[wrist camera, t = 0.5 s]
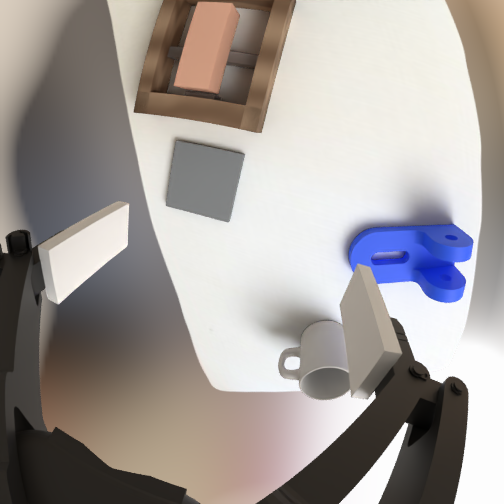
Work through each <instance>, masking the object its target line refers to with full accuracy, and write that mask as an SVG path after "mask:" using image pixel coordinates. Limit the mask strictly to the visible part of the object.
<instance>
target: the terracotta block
mask: <svg viewBox="0 0 504 504" xmlns="http://www.w3.org/2000/svg"><path fill="white" fill-rule="evenodd" d="M239 18H240V15H239V13H238V12H237V10H236V8H235V7H234V5H233V3H223V2H198V3H197V6H196V9H195V12H194V15H193V18H192V21H191V24H190V27H189V31H188V34H187V37H186V41H185V44H184V48H183V51H182V55H181V59H180V62H179V66H178V70H177V74H176V78H175V82H174V86H177V87H180V88H183V89H186V90H193V91H201V92H208V93H215V94H219V90H220V86H221V82H222V78H223V74H224V71H225V67H226V63H227V59H228V56H229V52H230V48H231V45H232V41H233V38H234V34H235V31H236V28H237V24H238V21H239Z"/></svg>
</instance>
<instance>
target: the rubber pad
mask: <svg viewBox="0 0 504 504" xmlns="http://www.w3.org/2000/svg"><path fill="white" fill-rule="evenodd" d="M244 156H245V154H242V153H237V152H233V151H229V150H224V149H220V148H215V147H210V146H205V145H200V144H195V143H190V142H185V141H176V144H175V149H174V155H173V161H172V167H171V173H170V180H169V186H168V193H167V201H166V206H168V207H172V208H176V209H180V210H184V211H187V212H191V213H195V214H199V215H202V216H206V217H210V218H214V219H217V220H221V221H225V222H229V221H230V218H231V213H232V209H233V204H234V200H235V195H236V191H237V187H238V182H239V178H240V173H241V169H242V165H243V161H244Z"/></svg>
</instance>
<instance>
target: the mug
mask: <svg viewBox="0 0 504 504" xmlns="http://www.w3.org/2000/svg"><path fill="white" fill-rule="evenodd" d="M291 356H295V357H299V358H300V368H299V369H296V370H287V369H285V367H284V362H285V360H286V359H287V358H288V357H291ZM278 368H279V373H280V375H281V376H282V377H283V378H285V379H291V380H299V387H300V390H301V391H302V393H304V394H305V395H306V396H307V397H309V398H312V399H316V400H332V399H336V398H338V397H341V396H343V395H345V394H346V393H347V392H349V391H350V379H349V370H348V361H347V353H346V345H345V337H344V330H343V326H342V325H341V324H339V323H337V322H334V321H319V322H316V323H313V324H312V325H310V326H308V327H307V328H306V329H305V330H304V332H303V334H302V337H301V346H300V347H295V348H288V349H285V350H284V351H283V352H282V353H281V355H280V358H279V363H278Z"/></svg>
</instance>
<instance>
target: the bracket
mask: <svg viewBox="0 0 504 504" xmlns="http://www.w3.org/2000/svg"><path fill="white" fill-rule="evenodd" d="M472 247H473V239H472V238H471V237H470V236H469V235H467V234H466V233H465V232H463V231H462V230H461V229H460V228H458V227H457V226H456V225H454V224H449V225H422V226H398V227H376V228H370V229H367V230H365V231H363V232H361V233H360V234H359V235H358V236H357V237H356V238H355V239H354V240H353V242H352V244H351V246H350V249H349V262H350V265H351V268H352V271H353V273H354V271H355V268H356V266H357V264H361V265H365V266H368V267H370V268H371V270H372V273H373V275H374V278H375V280H376V282H377V284H380V283H393V282H405V281H413V282H416V283H418V284H419V285H420V287H421V288H422V290H423V292H424V293H425V294H426V295H427V296H428V297H430V298H431V299H433V300H436V301H439V302H445V303H451V302H456V301H458V300H460V299H461V298H462V296H463V292H464V288H465V284H466V279H465V277H464V276H463V275H462V274H461V273H460V271H459V270H458V269H457V268H456V267H455V266H454V263H455V262H464V261H467V260H469V259H470V258H471V254H472ZM393 251H406V253H405V255H404V256H403V257H402V258H396V259H380V260H372V259H371V257H372V256H373V254H375V253H377V252H393Z"/></svg>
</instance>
